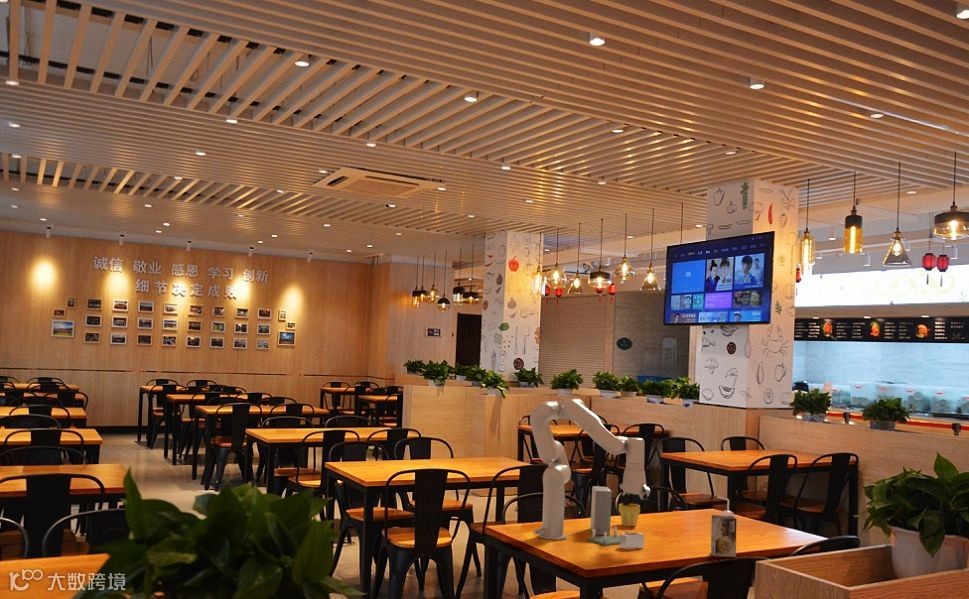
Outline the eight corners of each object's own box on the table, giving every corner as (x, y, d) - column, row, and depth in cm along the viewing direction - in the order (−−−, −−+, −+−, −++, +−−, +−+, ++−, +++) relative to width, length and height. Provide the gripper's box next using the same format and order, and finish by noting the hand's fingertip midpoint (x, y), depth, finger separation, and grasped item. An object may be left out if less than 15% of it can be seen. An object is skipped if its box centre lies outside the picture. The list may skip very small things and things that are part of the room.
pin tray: (604, 545, 367) (605, 534, 367) (587, 540, 376) (587, 528, 376) (632, 542, 377) (633, 530, 377) (615, 537, 386) (615, 526, 386)
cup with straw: (733, 544, 384) (734, 499, 386) (713, 540, 389) (715, 496, 390) (738, 541, 391) (740, 497, 393) (719, 537, 396) (720, 494, 398)
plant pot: (613, 524, 417) (614, 503, 417) (628, 522, 423) (629, 502, 423) (629, 528, 408) (629, 507, 409) (644, 526, 414) (644, 506, 415)
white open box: (625, 550, 362) (626, 535, 362) (619, 548, 365) (620, 533, 365) (643, 548, 367) (644, 533, 367) (637, 546, 370) (637, 532, 370)
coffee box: (731, 553, 364) (732, 515, 366) (736, 557, 358) (737, 518, 359) (710, 552, 364) (711, 514, 365) (714, 556, 358) (715, 517, 359)
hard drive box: (610, 536, 388) (612, 491, 389) (593, 535, 388) (595, 490, 390) (606, 529, 404) (607, 486, 405) (589, 528, 404) (591, 485, 405)
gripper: (614, 464, 373) (613, 504, 372) (643, 469, 359) (643, 511, 358) (626, 464, 377) (626, 503, 376) (656, 468, 363) (655, 509, 362)
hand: (634, 507), depth 367 cm, fingers open, 9 cm apart
